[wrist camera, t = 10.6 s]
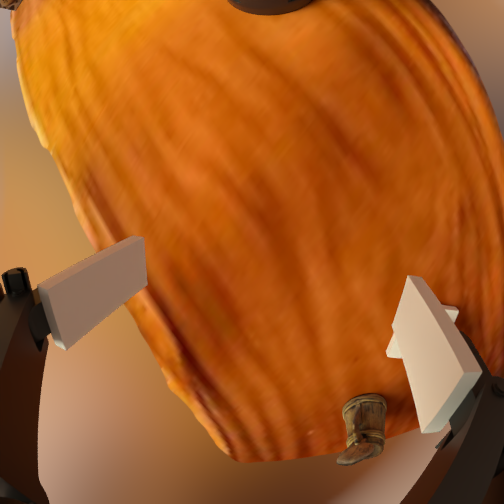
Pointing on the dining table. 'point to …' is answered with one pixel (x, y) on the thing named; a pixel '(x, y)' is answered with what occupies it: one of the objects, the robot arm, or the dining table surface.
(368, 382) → the dining table surface
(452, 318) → the white peg base
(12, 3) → the coffee box
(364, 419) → the wooden mug
